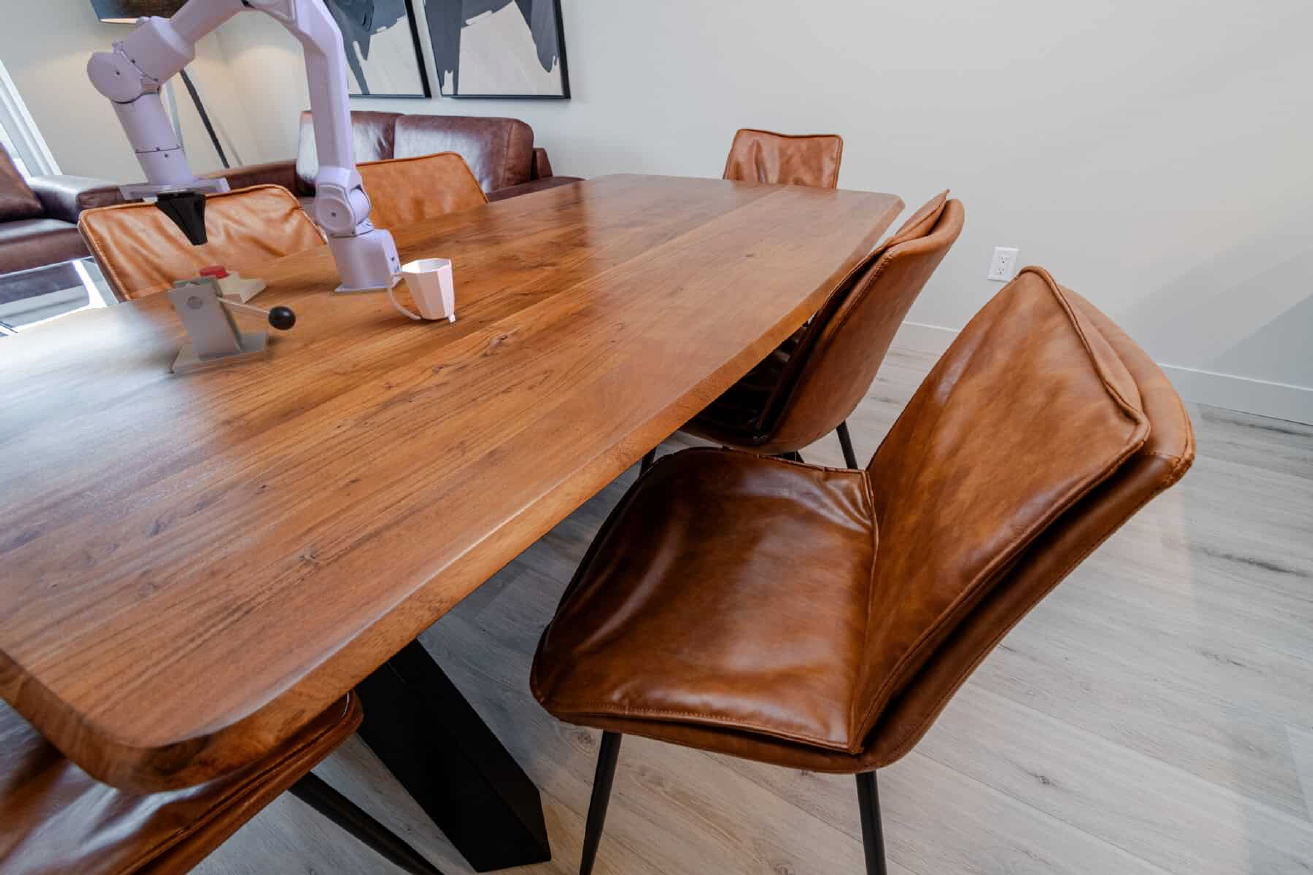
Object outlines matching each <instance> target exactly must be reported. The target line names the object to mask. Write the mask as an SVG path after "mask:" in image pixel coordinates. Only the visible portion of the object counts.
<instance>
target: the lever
mask: <svg viewBox="0 0 1313 875" xmlns="http://www.w3.org/2000/svg"><path fill="white" fill-rule="evenodd" d="M195 285H196V284H193V283H189V282H187V284H186V285H185V287H189V286H195ZM213 290H214V292H215V289H213ZM217 298H218V301H219V303H220V305H221V307H222V308H223V309H227V310H231V312H235V313H240V314H244V315H248V316H252V317H256V318H259V319H263V320H267V321H268V323H269V324H270V326H271V327H272V328H274V329H275V330H278V331H289V330H290V329H292V328H293V327H295V325H296V322H297V316H296V314H295V312H294V311H293V310H292V309H291V308H289V307H287V306H283V305H277V306H274V307H272V308H271V309H268V308H267V309H266V308H263V307H259V306H255V305H251V304H246V303H239V302H235V301H232V300H228V299H224V298H220V297H217Z"/></svg>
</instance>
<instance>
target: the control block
mask: <svg viewBox="0 0 1313 875" xmlns="http://www.w3.org/2000/svg"><path fill="white" fill-rule="evenodd" d="M226 272H227V274H228V277H225V278H222V279H218V283H219V285H220V287H221V289H222V292H223V294H224V296H225V298H226V299H228V300H232V301H235V302H239V303H243V304H246V302H247V301H249V300H250V299H252V298H253V297H255V296H256V295H257V294H259V293H261V291H264V290H265V289H266V284H265V282H264V279H263V278H262V277H259V278H256V277H255V278H243V279H242V278H241V277H240V275H239V273H238V271H234V270H226ZM198 277H201V276H200V275H199V276H198Z"/></svg>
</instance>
